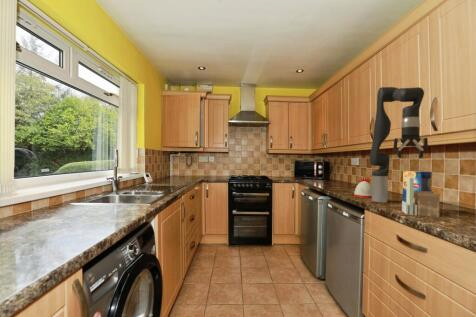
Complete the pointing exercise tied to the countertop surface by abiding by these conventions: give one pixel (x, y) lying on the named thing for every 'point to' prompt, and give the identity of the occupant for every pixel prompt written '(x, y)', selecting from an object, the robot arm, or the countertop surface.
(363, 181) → the kitchen timer
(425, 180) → the beverage box
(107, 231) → the countertop surface
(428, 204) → the oak rack
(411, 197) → the sage board
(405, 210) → the small printed carton
